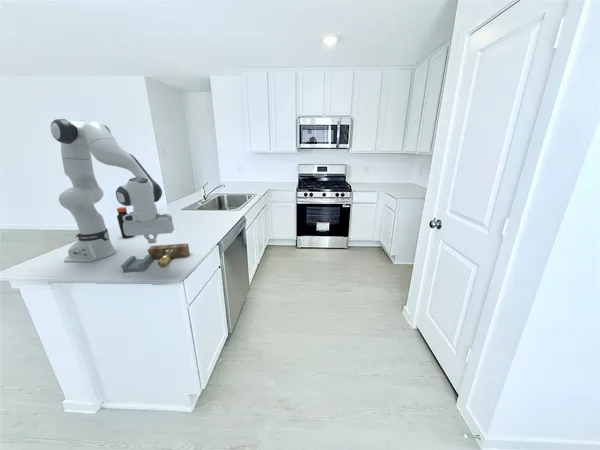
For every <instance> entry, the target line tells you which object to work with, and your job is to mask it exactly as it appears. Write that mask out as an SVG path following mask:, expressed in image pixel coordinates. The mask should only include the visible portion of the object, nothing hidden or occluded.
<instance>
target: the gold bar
mask: <svg viewBox="0 0 600 450" xmlns="http://www.w3.org/2000/svg"><path fill="white" fill-rule="evenodd" d="M172 258H174V257H173V252H172V250H166V253H165V254H164V255H163V257H162V258H161V259H158V261H157V265H158V266H159V267H160V268H164V267H166V266H167V265H168V264H169V262H170V261H171V260H172Z"/></svg>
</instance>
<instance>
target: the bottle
mask: <svg viewBox="0 0 600 450" xmlns="http://www.w3.org/2000/svg"><path fill="white" fill-rule="evenodd" d="M116 211H117V213H118V214H117V216H116V218H117V223H118V227H119V230H120V234H121V238H122V239H130V238H133V237H134V236H126V235H125V234H124V230H123V222H124V221H123V219H122V217H123V216H125V215H127V214H129V213H128V212H127V211H128V210H127V206H122V207H121V206H120V207H117V208H116Z"/></svg>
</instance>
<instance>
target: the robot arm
mask: <svg viewBox="0 0 600 450" xmlns="http://www.w3.org/2000/svg"><path fill="white" fill-rule="evenodd" d="M50 131H51V134H52V136H53V138H54V140H55V141H57V142H59V143H60V152H61V155H60V156H61V159H62V160H61V161H62V166H63V172H64V174H65V175H66V176H67V177H68V178H69V181H70V182H71V184H72V187H69V188H66V189H65V190H64V191H62V192H61V193H60V194H59V196H58V202H59V205H60V206H61V207H63V208H64V209H65V210H67V211H69V212H70V213H71V215H72V216H73V218H74V220H75V223H76V224H77V225H76V226H77V228H78V230H79V233H77V234H76V235H75V238H78V239H77V241H75V242H74V243H73V244H71V246H70V247H69V248H68V250H67V251H68V255H67V256H66V257H65V258H64V259H63V261H64V262H66V263H91V262H94V261H95V262H96V261H97V260H101V259H105V258H107V257H110V256H112V255H114V254H115V253H116V251H117V250H116V249H115V247H114V245H113V244H112V241H111V239H110V235H109V230H108V228H106V224H105V220H104V217H103V215H102V214H101V213H99V211H98V210H97V208H96V207H95V204H97V203H99V202H100V201H101V200H102V199H103V197H104V190H103V188H101V187H100V185H99V182H97V181H98V180H97V179H96V176H95V172H94V165H93V159H92V156H93V157H94V159H96V160H97V161H98V162H99V163H101V164H103V165H106V166H112V167H118V168H121V169H125V170H127V171H129V172H130V173H132V174H133V176H134V177H131V178H129V179H128V180H127V182H126V183H124V184H123V185H120V186H118V187H117V188H116V191H115V197H116V200H117V202H118V203H119V204H120V205H122V206H123V207H132V209H133V211H131V212H129V213H128V214H127V215H125V216H123V217H122V219H123V221H124V222H123V230H124V234H125V235H126V236H133V237H135V236H143V237H144V238H145V239H146V241H147V242H148V244H156V243H157V238H158V235H165V234H172V233H173V231H175V226H174V223H173V216H172V215H171V214H169V213H167V212H166V213H158V208H157V205H156V203H157V202H158V201H160V199H162V195H163V190H162V187H161V186H160V184H159V183H157V182H156V181H155V180H154V179H153V178H152V177H151V175H150V174H149V173H148V171H147V170H146V169H145V168H144V167H143V165H141V163H140V162H139V160H138V159H137V158H136V157H135V156H134V155H133V154H131V153H129V152H127V151H126V150H125V149H123V148H122V147H121V146H120V145H119V143H118V142H117V141H116V138H115V137H114V136H113V134H112V133H111V130H110V129H109V128H108V126H107V125H105V124H102V123H100V122H99V121H98V122H97V121H89V120H88V121H87V120H75V119H66V118H59V119H56V118H55V119H54V120H53V121H52V122H51V123H50ZM150 235H152V237H153V238H151V237H150Z"/></svg>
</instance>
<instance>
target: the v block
mask: <svg viewBox="0 0 600 450" xmlns="http://www.w3.org/2000/svg"><path fill="white" fill-rule="evenodd" d="M151 264H153V260H152V256H151V255H149V254H146V255H145V256H144V257H143V258H136V255H131V256H130V257H128V258H127V259H126V260H125V261H124V262H123V263H122V264H121V270H122V273H123V274H124V273H133V272H145V271H146V270H147V269H148V268H149V266H151Z"/></svg>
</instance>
